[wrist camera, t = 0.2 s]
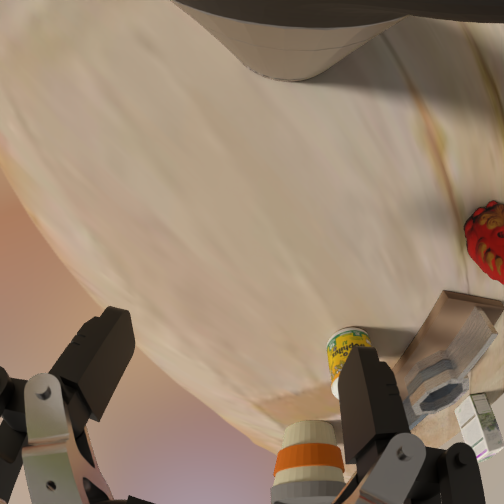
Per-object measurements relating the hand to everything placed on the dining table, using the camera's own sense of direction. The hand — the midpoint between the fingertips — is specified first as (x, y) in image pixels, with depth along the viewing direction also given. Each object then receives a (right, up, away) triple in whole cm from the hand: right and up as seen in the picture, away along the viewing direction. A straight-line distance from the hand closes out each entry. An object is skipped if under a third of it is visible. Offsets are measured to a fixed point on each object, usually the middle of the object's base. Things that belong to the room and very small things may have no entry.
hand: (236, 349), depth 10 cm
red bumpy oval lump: (+26, +6, +14) cm, 30 cm away
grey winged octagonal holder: (+26, -14, +23) cm, 37 cm away
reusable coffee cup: (+11, -29, +36) cm, 47 cm away
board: (+26, -13, +24) cm, 38 cm away
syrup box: (+45, -27, +30) cm, 61 cm away
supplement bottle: (+12, -7, +23) cm, 27 cm away
